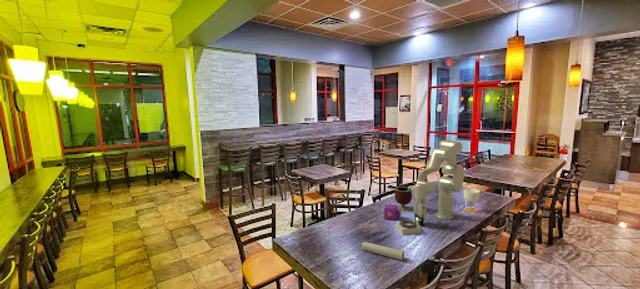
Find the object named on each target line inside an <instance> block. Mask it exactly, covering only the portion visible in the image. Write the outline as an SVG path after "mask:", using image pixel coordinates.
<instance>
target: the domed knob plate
mask: <svg viewBox="0 0 640 289" xmlns="http://www.w3.org/2000/svg"><path fill="white" fill-rule="evenodd" d="M395 230H396V231H398V232H399V233H400V234H401V235H402V236H405V235H412V234H420V233H422V226H419V225H418V224H417V223H415V220H410V219H404V220H400V221H397V222H396V223H395Z"/></svg>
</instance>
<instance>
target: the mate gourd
mask: <svg viewBox="0 0 640 289" xmlns="http://www.w3.org/2000/svg"><path fill="white" fill-rule="evenodd" d="M414 188H415V185H414V186H411V187H407V186H398V187H396V188H394V190H395V191H394V199H395V202H396V203H397V210H399V209H401V211H402V212H410V210H411V207H410V206H408V205H409V204H410V203H411V202H412V198H413V193H412V189H414ZM398 204H399V205H398Z"/></svg>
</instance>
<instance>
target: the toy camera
mask: <svg viewBox="0 0 640 289" xmlns="http://www.w3.org/2000/svg"><path fill="white" fill-rule="evenodd" d="M397 206H398V204H397V205H396V204H391V203H386V204H385V205H384V208H383V218H384V219H386V220H394V221H395V220H397V217H399V218H401V216H402V215H403V211H401V209H399V210H397Z"/></svg>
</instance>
